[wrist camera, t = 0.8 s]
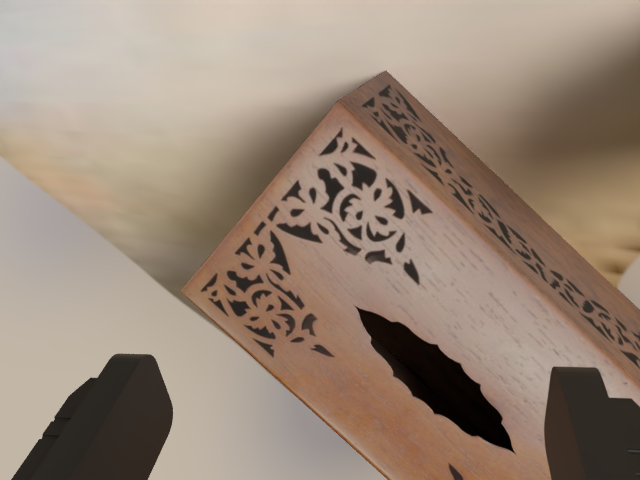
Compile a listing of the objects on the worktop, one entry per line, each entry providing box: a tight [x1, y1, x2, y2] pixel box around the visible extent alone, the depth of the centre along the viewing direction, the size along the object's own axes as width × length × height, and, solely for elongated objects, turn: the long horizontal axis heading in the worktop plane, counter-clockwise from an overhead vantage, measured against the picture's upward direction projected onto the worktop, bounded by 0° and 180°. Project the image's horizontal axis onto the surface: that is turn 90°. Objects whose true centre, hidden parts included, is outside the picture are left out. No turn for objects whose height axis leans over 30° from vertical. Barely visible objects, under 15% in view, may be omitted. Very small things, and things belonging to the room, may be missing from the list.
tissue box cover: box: [180, 71, 640, 480], centre depth 33 cm, size 26×14×10 cm, turn 51°
